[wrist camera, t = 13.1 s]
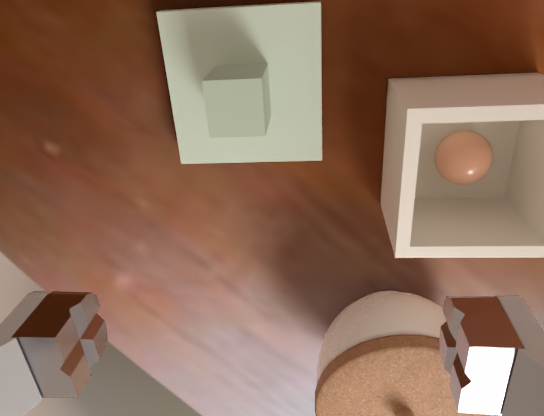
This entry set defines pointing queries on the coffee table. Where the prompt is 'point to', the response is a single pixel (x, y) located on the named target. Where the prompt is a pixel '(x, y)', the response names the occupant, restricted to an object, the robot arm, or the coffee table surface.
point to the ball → (463, 157)
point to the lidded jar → (385, 360)
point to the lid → (245, 81)
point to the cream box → (470, 197)
